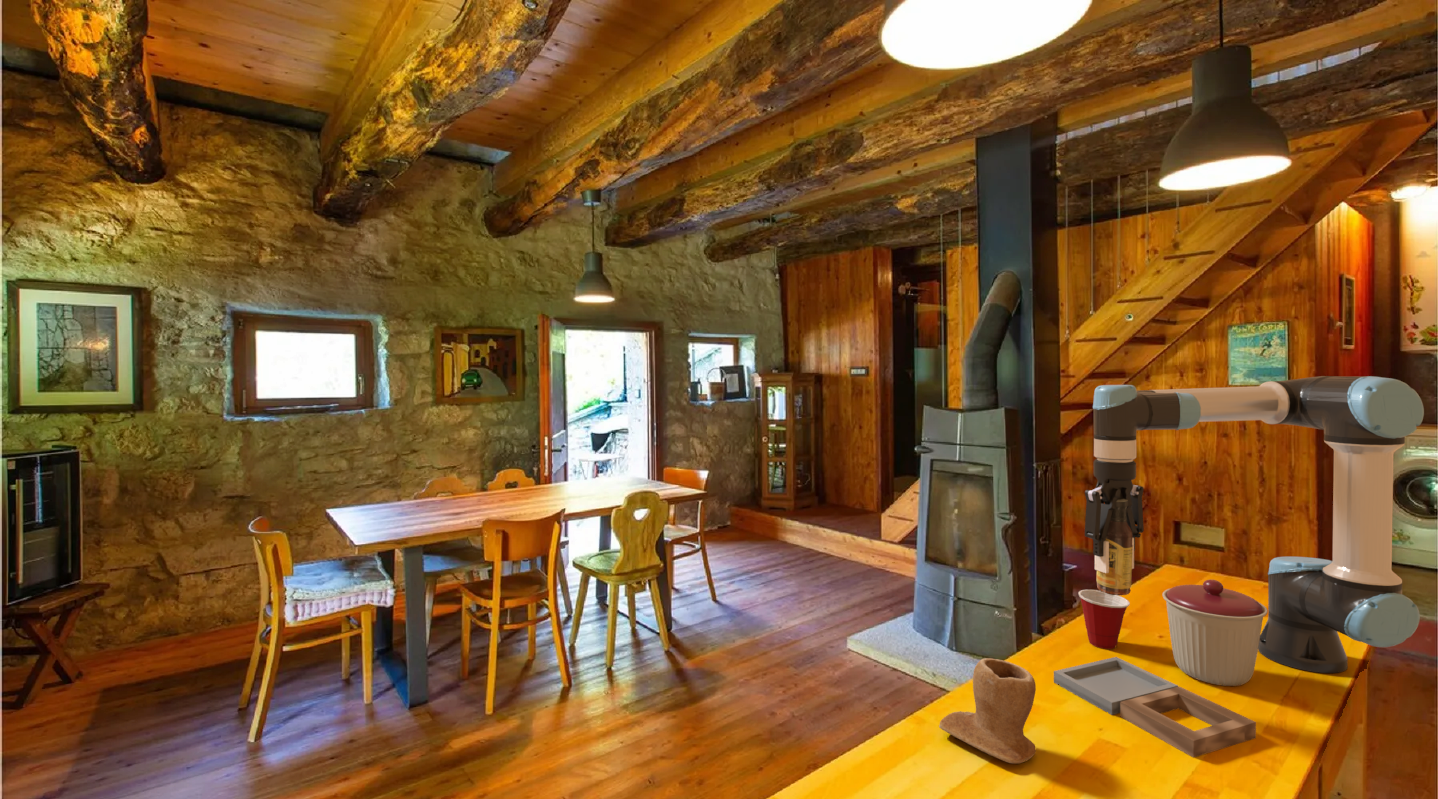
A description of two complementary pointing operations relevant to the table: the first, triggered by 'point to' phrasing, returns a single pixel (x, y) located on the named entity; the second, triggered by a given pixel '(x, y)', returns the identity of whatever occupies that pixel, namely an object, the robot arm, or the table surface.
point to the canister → (1214, 632)
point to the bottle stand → (1194, 743)
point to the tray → (1110, 682)
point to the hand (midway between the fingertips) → (1114, 568)
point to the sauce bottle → (1118, 554)
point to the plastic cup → (1103, 617)
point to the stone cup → (997, 712)
